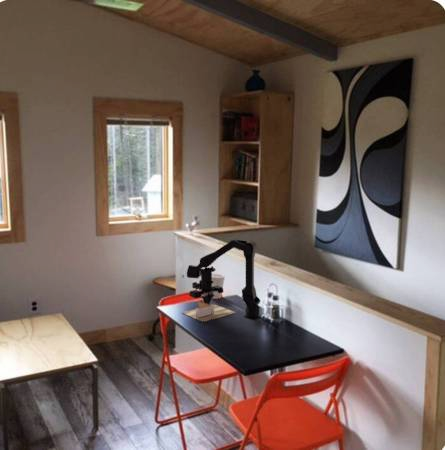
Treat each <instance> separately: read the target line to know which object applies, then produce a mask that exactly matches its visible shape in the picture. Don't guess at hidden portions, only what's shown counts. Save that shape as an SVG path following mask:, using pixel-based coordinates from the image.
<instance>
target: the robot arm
mask: <svg viewBox="0 0 445 450" xmlns="http://www.w3.org/2000/svg"><path fill="white" fill-rule="evenodd" d="M233 249H236V250H239V251H243V257H244V259H245V287H244V288H242V289H241V294H242V295H241V298H242V301H243V302H244V303H245V306H246V307H245V314H244V315H243V317H244V318H247V319H250V320H255V319H256V320H257V319H260V318H261V317H262V316H261V315H260V306H259V305H260V303H261V299H260V298H259V297H258V295H257V290H256V288H255V285H254V284H255V255H256V251H257V242H255V241H253V240H243V239H242V240H241V239H237V238H233V239H232V240H230V241H229V242H227V243H226V244H224V245H223V246H221V247H220V248H219V249H217V250H215V251H213V252H211V253H209V254H206V255H203V256H202V257H201V258H200V259H199V263H198V264H197V265H193V264H189V265H188V266H187V269H186V270H187V271H186V277H187V279H188V278H189V279H199V278H200V280H199V283H198V282H197V281H194V282H192V283H191V285H192V286H191V287H192V289H194V290H190V291H189V295H188V296H189V297H191V298H193V299H199V298H200V299H201V298H202V301H203V302H204V303H207V304H209V305H210V303H211V301H212V299H213V296H215V295H214V294H213V292H216V291H218V293H222V294H223V293H224V288H222V287H220V286H212V283H213V281H212V274H213V273H214V272H215V271H216V268H215V267H214V266H213V265H212V264H214V263H215V262H216V261H217V259H219V258H221V256H223V255H225V254H226V253H228V252H229V251H231V250H233ZM211 265H212V266H211Z"/></svg>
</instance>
